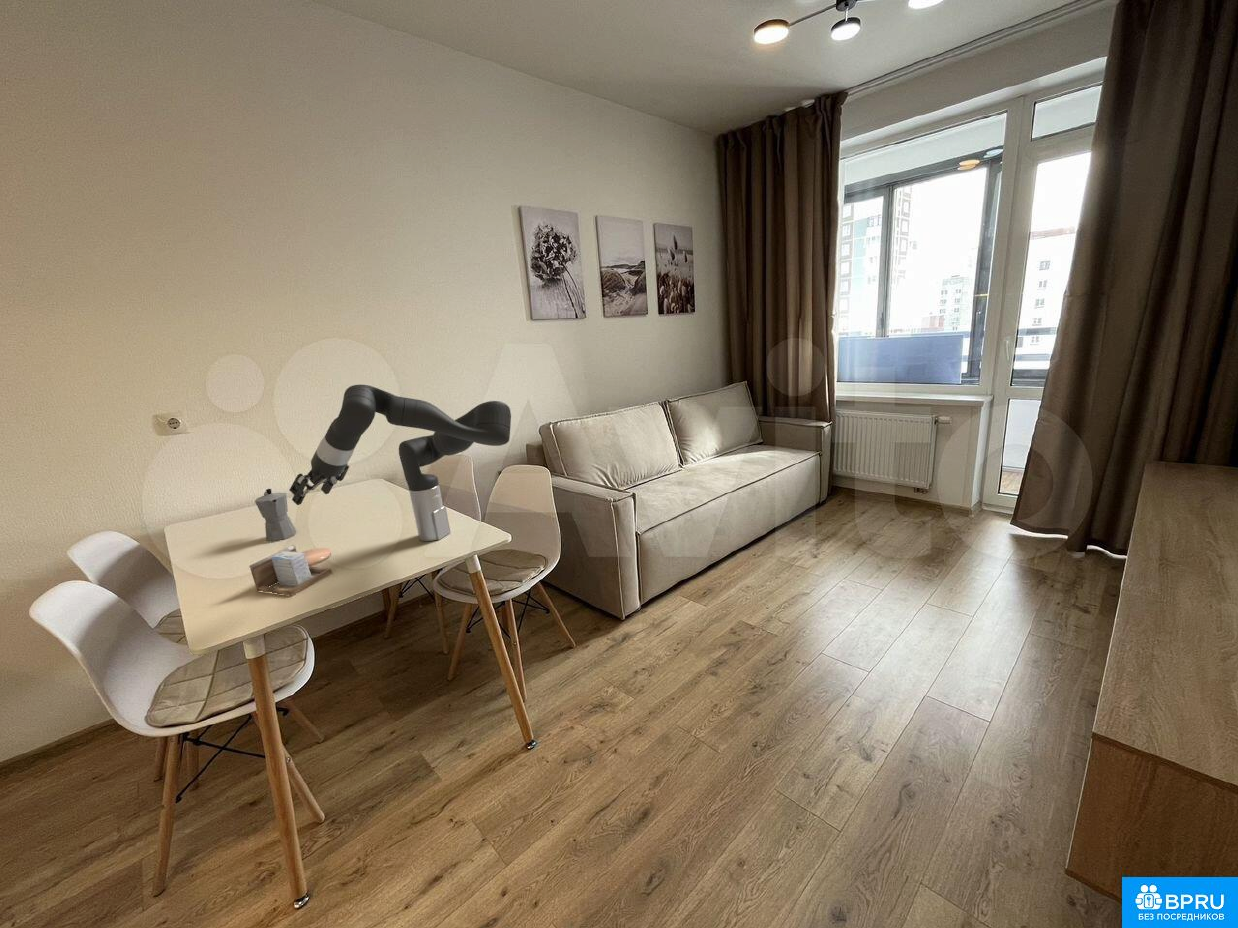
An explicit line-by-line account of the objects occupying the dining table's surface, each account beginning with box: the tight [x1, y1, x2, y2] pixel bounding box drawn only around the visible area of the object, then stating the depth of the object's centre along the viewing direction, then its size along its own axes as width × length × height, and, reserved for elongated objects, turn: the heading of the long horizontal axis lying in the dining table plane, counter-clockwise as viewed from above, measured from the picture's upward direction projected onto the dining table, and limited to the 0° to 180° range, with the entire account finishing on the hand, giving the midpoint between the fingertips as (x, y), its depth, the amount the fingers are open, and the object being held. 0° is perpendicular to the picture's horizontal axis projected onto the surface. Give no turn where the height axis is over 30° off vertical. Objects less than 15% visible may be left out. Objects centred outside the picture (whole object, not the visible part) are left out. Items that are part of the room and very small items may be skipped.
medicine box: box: [271, 551, 313, 587], centre depth 143 cm, size 8×4×9 cm, turn 71°
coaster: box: [300, 547, 332, 567], centre depth 159 cm, size 12×12×1 cm
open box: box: [248, 544, 333, 597], centre depth 143 cm, size 13×13×8 cm
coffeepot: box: [254, 488, 297, 542], centre depth 179 cm, size 15×9×18 cm, turn 44°
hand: (310, 496), depth 132 cm, fingers open, 8 cm apart
